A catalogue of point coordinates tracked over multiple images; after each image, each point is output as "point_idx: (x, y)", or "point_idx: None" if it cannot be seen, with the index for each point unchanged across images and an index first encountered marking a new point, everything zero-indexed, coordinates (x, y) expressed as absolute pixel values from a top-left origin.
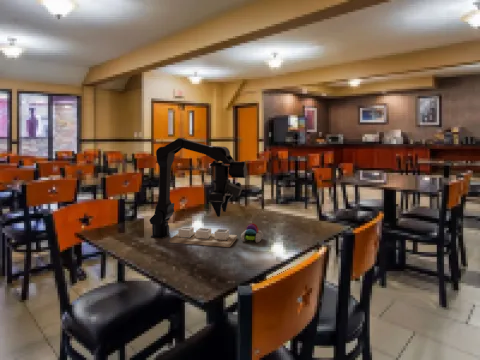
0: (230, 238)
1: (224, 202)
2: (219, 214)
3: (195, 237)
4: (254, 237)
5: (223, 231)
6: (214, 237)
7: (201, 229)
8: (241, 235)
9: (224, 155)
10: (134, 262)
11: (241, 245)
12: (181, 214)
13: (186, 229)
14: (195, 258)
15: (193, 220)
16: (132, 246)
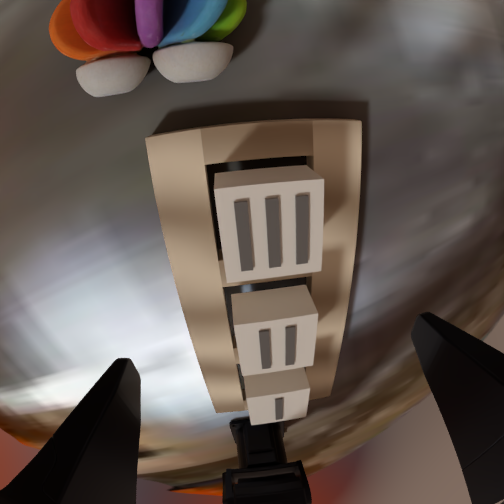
0: (248, 150)
1: (105, 489)
2: (448, 329)
3: None
4: None
5: (298, 212)
6: None
7: (276, 359)
8: (216, 69)
9: None
10: None
11: (298, 54)
12: (34, 433)
13: (294, 402)
14: (482, 229)
15: (43, 408)
16: (368, 417)
